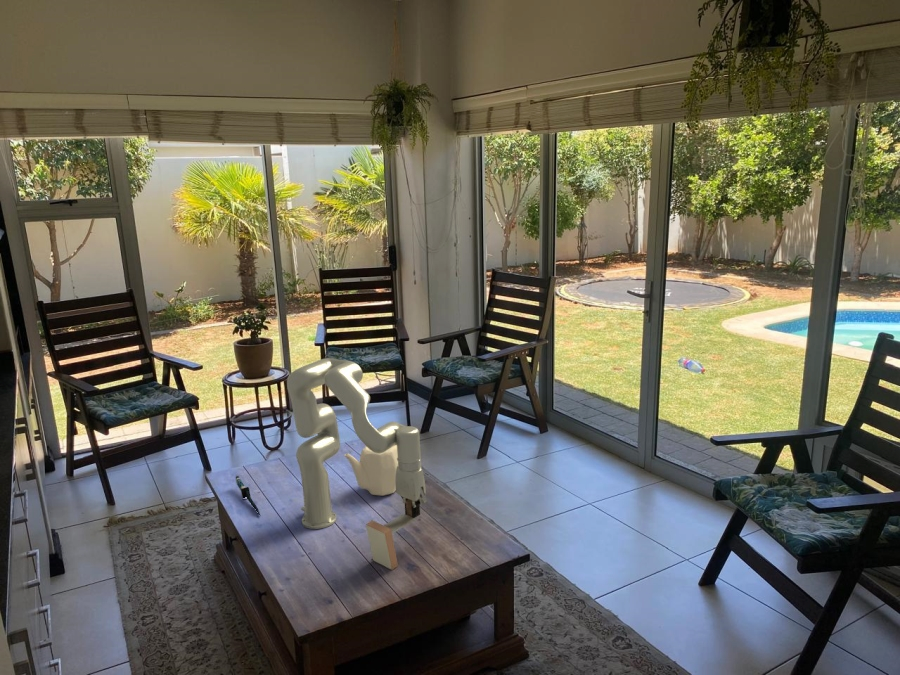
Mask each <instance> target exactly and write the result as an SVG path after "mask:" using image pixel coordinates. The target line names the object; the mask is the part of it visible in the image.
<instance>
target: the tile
mask: <svg viewBox="0 0 900 675" xmlns="http://www.w3.org/2000/svg"><path fill="white" fill-rule="evenodd" d="M365 527H366V531H367V536H368V542H369V546H370V550H371V556H372V559H373V560H372V561H374V562H375V563H377V564H379V565H381V566H383V567H386V568H387V569H389V570H392V571H393V570H395V568H397V567H398V566H399V562H398V559H397V554H396V553H397V552H396V549H395V543H394V537H393V534H392V531H391V529H390V528H388V527H386V526H384V524H381V523H379V522H377V521H374V520H373V519H372V520H370V521H369V522H367V523H366V525H365Z"/></svg>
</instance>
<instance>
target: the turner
mask: <svg viewBox="0 0 900 675" xmlns="http://www.w3.org/2000/svg"><path fill="white" fill-rule="evenodd" d="M416 502H417V501H416ZM412 507H413V505H412V500H410V499H408V500H406V511H407V515H405V513H403V514H401V515H400V516H398V517H396V518H394V519H392V520H391V521H389V522H387V523H386V524H383V526H386V527H388V528H390V529H391V531H392V535H393V534H394V533H396V532H397V531H400V530H401V529H403V528H405V527H406V526H408V525H410V524H411V523H413V522H415V521H416V517H415V518H413V517H412ZM419 508H420V509H421V504H420V505H419Z"/></svg>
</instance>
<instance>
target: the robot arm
mask: <svg viewBox="0 0 900 675" xmlns="http://www.w3.org/2000/svg"><path fill="white" fill-rule="evenodd" d="M363 375H364V374H363V369H362V368H361V367H360V365H359V364H357V363H356V362H354V361H351V360H346V359H338V358H322V359H319V360H317V361H313V362H310V363H308V364H305V365H303V366H301V367H298V368H297V369H295V370H294V371H292V372H290V374H289V376H288V377H287V379H286V380H287V381H286V387H287V388H286V389H287V392H288V394H289V398H290V400H291V407H292V412H293V414H292V415H293V419H294V424H295V429H296V432H297V434H298V435H299V436H300V437H301V438H304V439H307V440H305V441H303V442H302V443H301V444H299V446H298V448H297V449H296V454H295V455H296V460H297V464H298V467H299V471H300V477H301V486H302V495H303V504H304V505H303V506H301V508H300V510H301V511H302V512H303V513H304V516H303V517H302V519H301V525H302V526H303V527H305V528H306V529H311V530H319V529H324V528H328V527H330V526H331V525H333V524H334V523H336V521H337V518H338V517H337V514H336V512H334V511H332V510H333V509H332V501H331V500H332V499H331V489H330V480H329V479H330V478H329V472H328V470H327V468H326V467H325V466H324V462H325V461H328V459H330V458H332V457H334V456H335V455H336V454H338V452H339V451H340V448H341V440H340V432H339V425H338V420H337V415H336V413H335V411H334V408H332V407H331V405H329V404H327V403H318V402H317V397H316V395H315V393H314V392H313V391H312V390H313V389H317V388H318V387H321V386H323V385H325V386H326V387H327V388H328V390H329V391H330V392H331V393H332V394H333V396H335V397H336V398H337V399H338V401H339V402H340V403H341V405H343V406H344V407H345V408H346V409H347V410H348V412H349V413H350V415H351V423H352V428H353V430H354V432H355V434H356V436H357V437H358V439H359V440H360V441H361V442H362V443H363V445H365V446H367V447H368V448H369V449H370V450H371V451H373V452H375V453H383V452H385V451H387V450H388V449H390V448H391V447H393V446H395V445H397V454H398V458H397V461H398V466H397V469H396V479H395V486H396V491H395V493H396V494H397V495H398V496H400V497H401V499H402V503H403V505H404V514H405V515H407V511H406V500H408V499H410V500H412V505H413V507H412V517H413V518H415V519H416V518H418V517H419V516H420V515H421V507H420V508H419V505H420V506H421V505H422V504H424V503H426V502H427V498H426V481H425V475H424V472H423V468H422V460H421V459H422V458H421V456H422V455H421V454H422V453H421V442H420V441H421V439H420V438H421V437H420V430H419V428H417V427H415V426H412V425H411V426H410V425H409V426H408V425H404V424H402V423H399V422H397V421H389V422H386V423H385V424H383V425H381V426H379V427H378V428H375V427H374V425H372V423H371V422H370V421H369V419H368V415H367V408H368V405H369V404H370V401H371V396H370V394H369V392H367V390H365V389H364V388H363V387H362V385H360V382H361V381H362V380H363ZM308 438H309V439H308ZM416 501H417V502H416Z"/></svg>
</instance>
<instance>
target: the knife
mask: <svg viewBox="0 0 900 675" xmlns="http://www.w3.org/2000/svg"><path fill="white" fill-rule="evenodd" d="M235 482H236V485H237V486H238V487H237V488H239V490H240V493H241V499H242V498H245V497H247V499H246V500H248V502H249V504H250V503H251V504H250V505H251V507H252V506H253V507H254V508H255V509H256V511H257V512H258V513H257V512H256V511H255V512H256V513H257V515H258V514H259V515H260V516H259V515H258V516H259V517H261V513H260V510H259V508H258V506H257V505H256V503H255V501H254V500H253V498H252V497H251V493H250V487H249V486H245V485H244V482H243V481H242V479H241V478H240V476H239V475H236V476H235ZM253 507H252V508H253ZM254 508H253V509H254Z"/></svg>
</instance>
